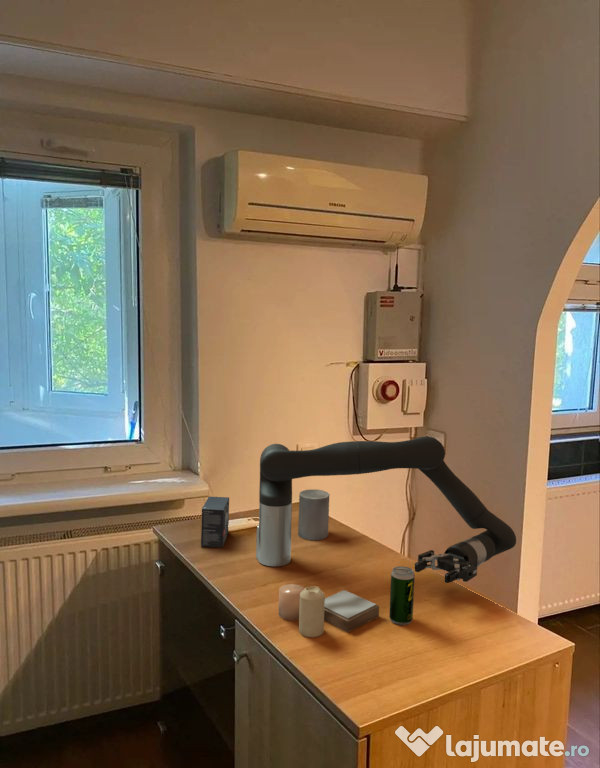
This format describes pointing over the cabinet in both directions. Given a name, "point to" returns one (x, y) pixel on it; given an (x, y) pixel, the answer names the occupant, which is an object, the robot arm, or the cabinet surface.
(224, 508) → the small box
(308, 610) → the candle
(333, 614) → the podium
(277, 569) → the cabinet surface
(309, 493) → the pillar candle
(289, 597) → the peach rounded cylinder
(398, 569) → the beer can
